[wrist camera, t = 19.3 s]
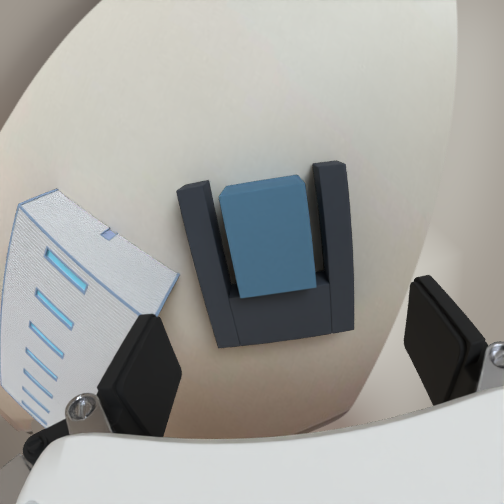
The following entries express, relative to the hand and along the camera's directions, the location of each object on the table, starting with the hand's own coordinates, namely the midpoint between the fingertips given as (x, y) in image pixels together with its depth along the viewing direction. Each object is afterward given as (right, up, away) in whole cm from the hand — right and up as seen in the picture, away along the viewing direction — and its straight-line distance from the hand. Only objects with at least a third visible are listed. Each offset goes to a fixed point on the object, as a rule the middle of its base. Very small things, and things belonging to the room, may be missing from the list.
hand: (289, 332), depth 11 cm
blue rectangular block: (0, +5, +14) cm, 14 cm away
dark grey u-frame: (+1, +3, +15) cm, 15 cm away
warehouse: (-22, -6, +19) cm, 30 cm away
